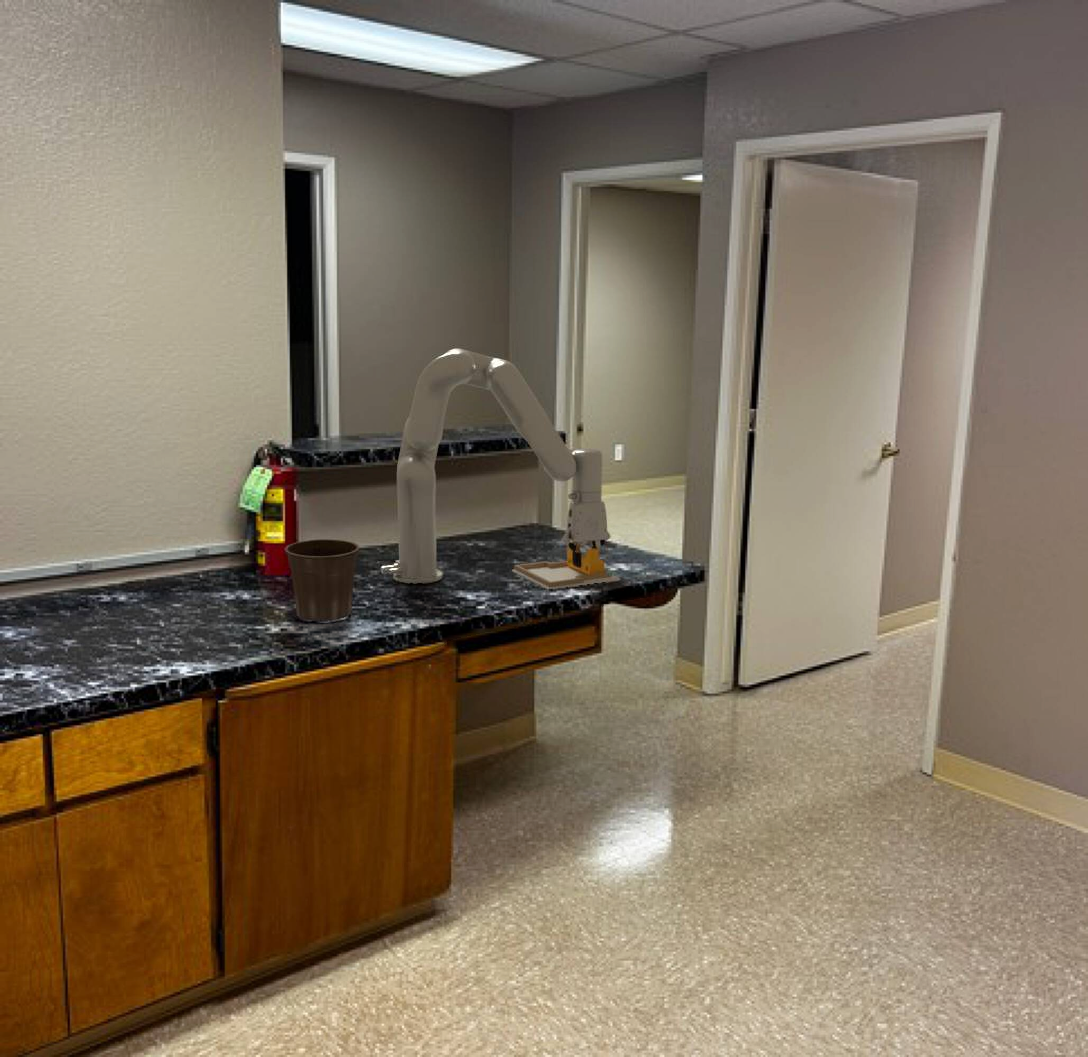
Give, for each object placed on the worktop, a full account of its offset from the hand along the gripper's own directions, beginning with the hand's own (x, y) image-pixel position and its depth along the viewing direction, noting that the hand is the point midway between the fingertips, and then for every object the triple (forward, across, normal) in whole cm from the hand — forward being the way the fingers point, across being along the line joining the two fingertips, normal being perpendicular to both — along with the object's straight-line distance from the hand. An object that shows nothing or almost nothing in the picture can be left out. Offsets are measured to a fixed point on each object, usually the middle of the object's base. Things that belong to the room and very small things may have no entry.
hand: (585, 564), depth 282 cm
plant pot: (+3, -72, -7) cm, 72 cm away
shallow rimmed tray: (+2, -6, 0) cm, 6 cm away
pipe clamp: (+1, 0, 0) cm, 1 cm away
